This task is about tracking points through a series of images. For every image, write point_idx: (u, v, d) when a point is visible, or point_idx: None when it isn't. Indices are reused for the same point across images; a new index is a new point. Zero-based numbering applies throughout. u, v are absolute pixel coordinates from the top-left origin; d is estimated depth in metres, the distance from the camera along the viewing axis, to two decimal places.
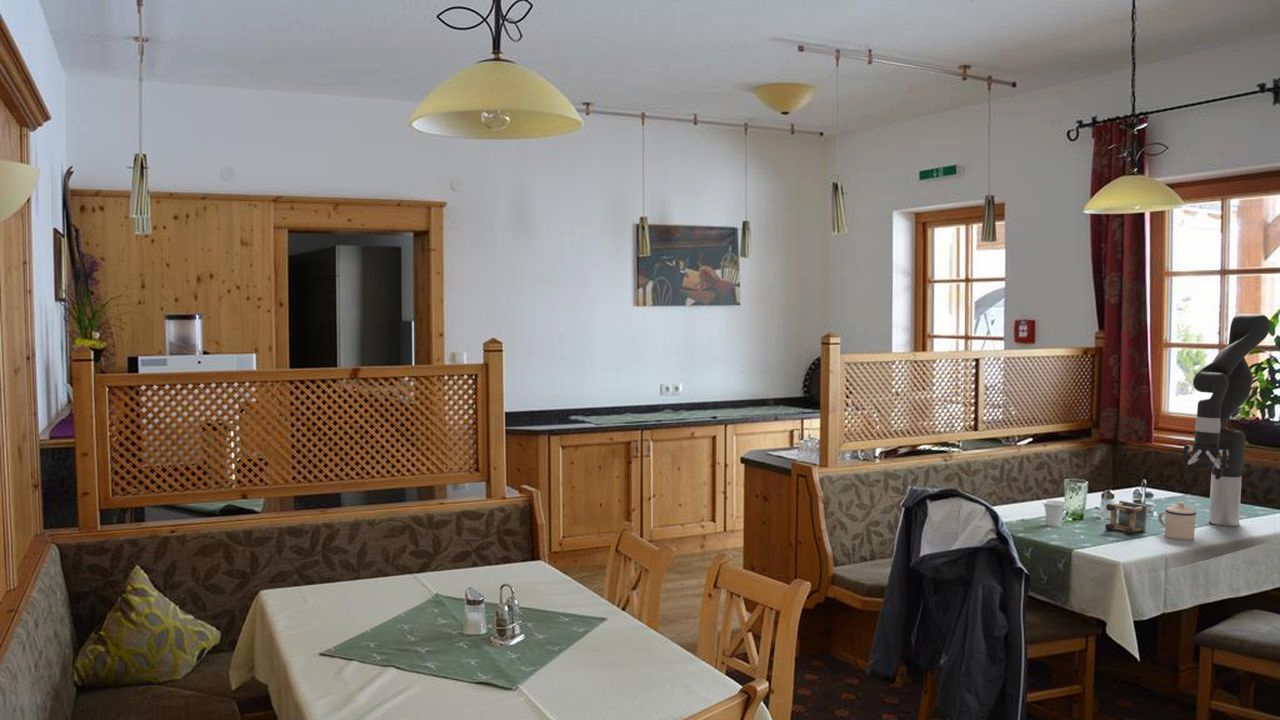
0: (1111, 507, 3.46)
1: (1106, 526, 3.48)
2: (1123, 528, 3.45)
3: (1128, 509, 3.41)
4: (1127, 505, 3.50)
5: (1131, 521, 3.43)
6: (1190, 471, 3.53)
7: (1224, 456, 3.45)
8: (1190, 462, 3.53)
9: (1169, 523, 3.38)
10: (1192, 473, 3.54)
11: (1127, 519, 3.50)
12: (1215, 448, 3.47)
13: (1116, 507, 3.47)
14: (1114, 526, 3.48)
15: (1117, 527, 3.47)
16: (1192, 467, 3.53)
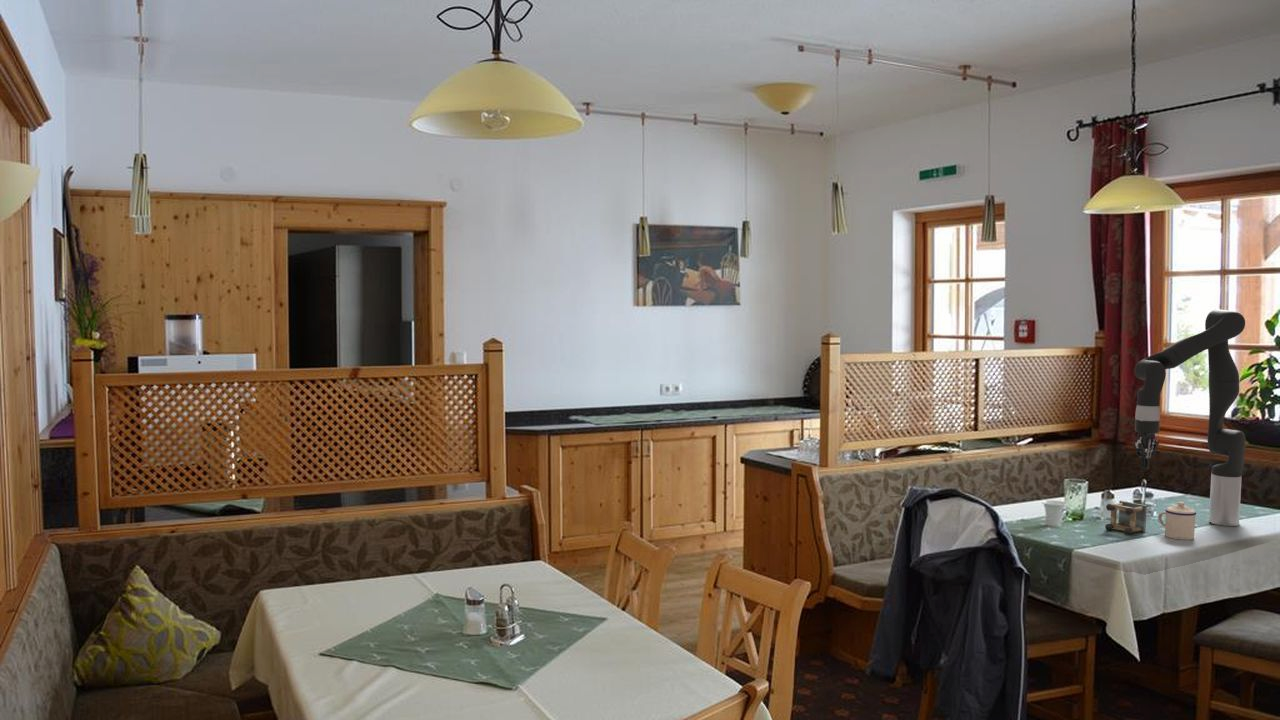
0: (1111, 507, 3.46)
1: (1106, 526, 3.48)
2: (1123, 528, 3.45)
3: (1128, 509, 3.41)
4: (1127, 505, 3.50)
5: (1131, 521, 3.43)
6: (1147, 464, 3.51)
7: (1156, 446, 3.53)
8: (1148, 455, 3.50)
9: (1169, 523, 3.38)
10: None
11: (1127, 519, 3.50)
12: None
13: (1116, 507, 3.47)
14: (1114, 526, 3.48)
15: (1117, 527, 3.47)
16: None
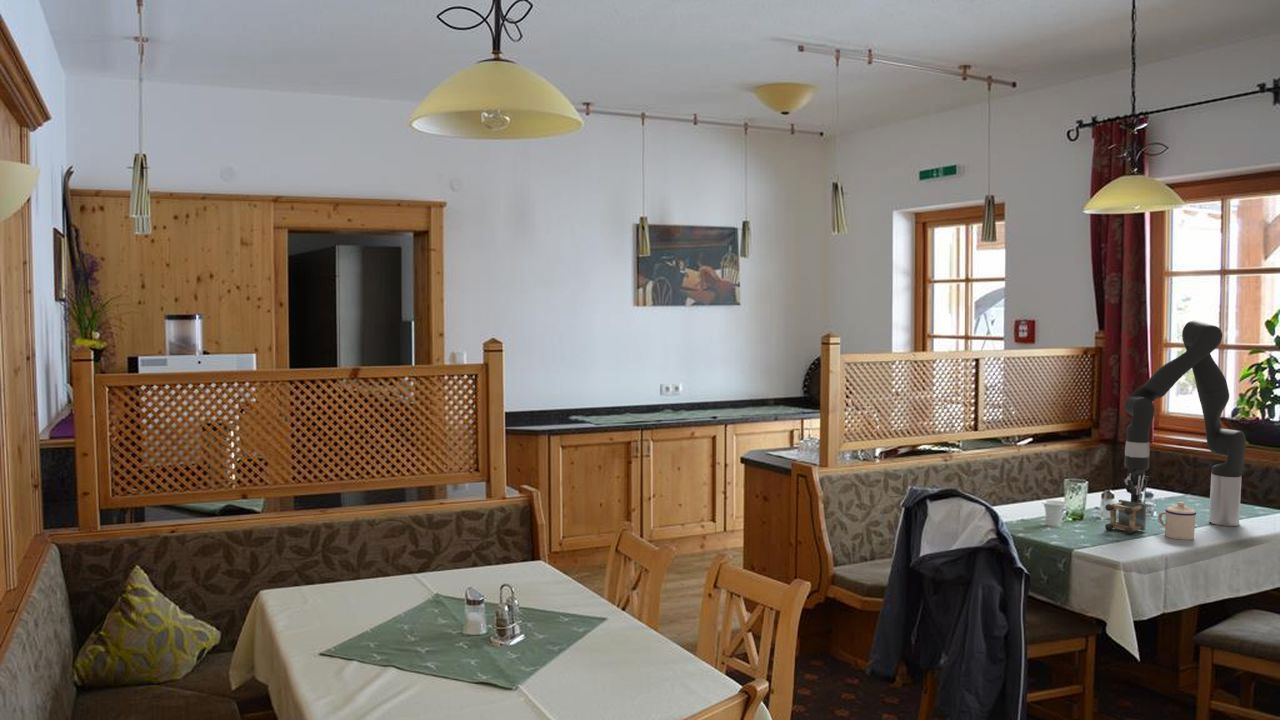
0: (1110, 507, 3.46)
1: (1106, 526, 3.48)
2: (1123, 528, 3.45)
3: (1127, 509, 3.41)
4: (1126, 504, 3.50)
5: (1131, 521, 3.43)
6: (1137, 501, 3.49)
7: (1146, 482, 3.51)
8: (1137, 491, 3.48)
9: (1169, 523, 3.38)
10: None
11: (1127, 518, 3.50)
12: None
13: (1115, 507, 3.47)
14: (1114, 526, 3.48)
15: (1117, 527, 3.47)
16: None
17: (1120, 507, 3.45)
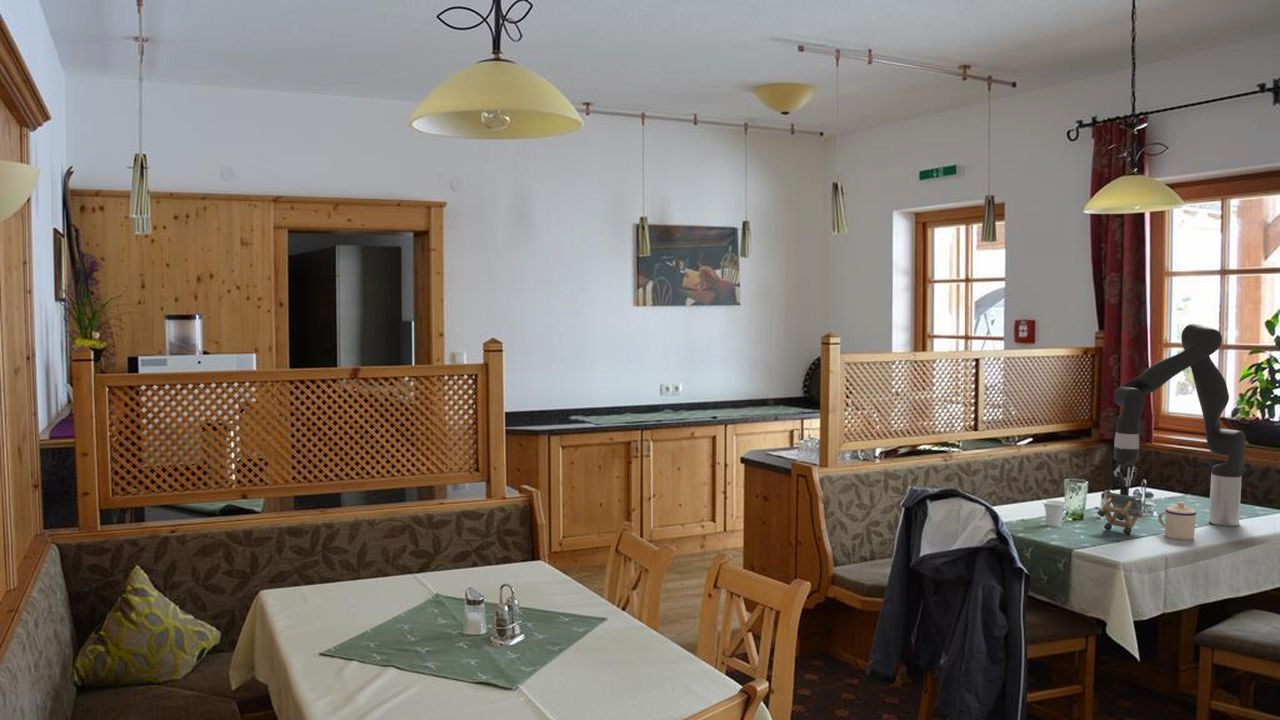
0: (1102, 514, 3.43)
1: (1105, 527, 3.47)
2: (1121, 525, 3.44)
3: (1119, 516, 3.38)
4: (1117, 497, 3.46)
5: (1126, 520, 3.41)
6: (1126, 493, 3.44)
7: (1136, 474, 3.47)
8: (1127, 483, 3.44)
9: (1169, 523, 3.38)
10: None
11: (1122, 507, 3.48)
12: (1134, 463, 3.46)
13: (1107, 510, 3.44)
14: (1112, 523, 3.47)
15: (1115, 524, 3.46)
16: None
17: (1112, 510, 3.43)
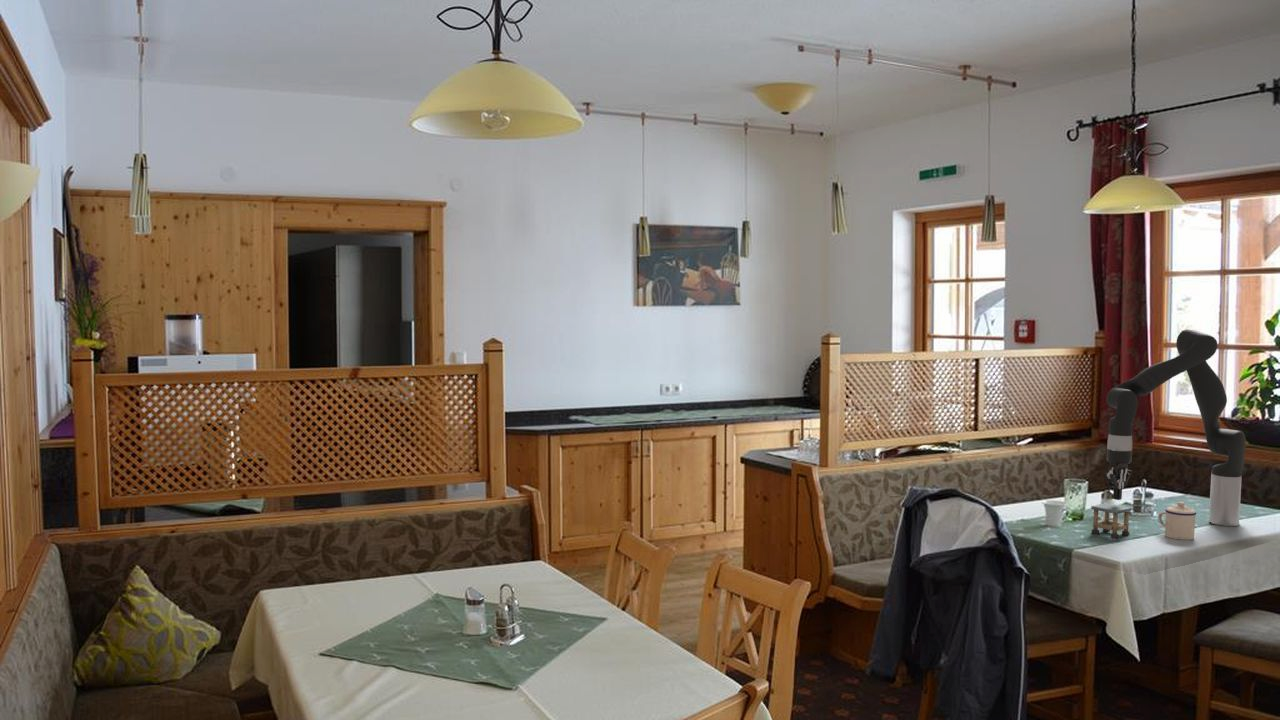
0: (1097, 533, 3.42)
1: None
2: None
3: None
4: None
5: None
6: (1120, 495, 3.42)
7: (1129, 476, 3.44)
8: (1120, 486, 3.41)
9: (1169, 523, 3.38)
10: None
11: None
12: None
13: None
14: (1108, 524, 3.46)
15: None
16: None
17: None
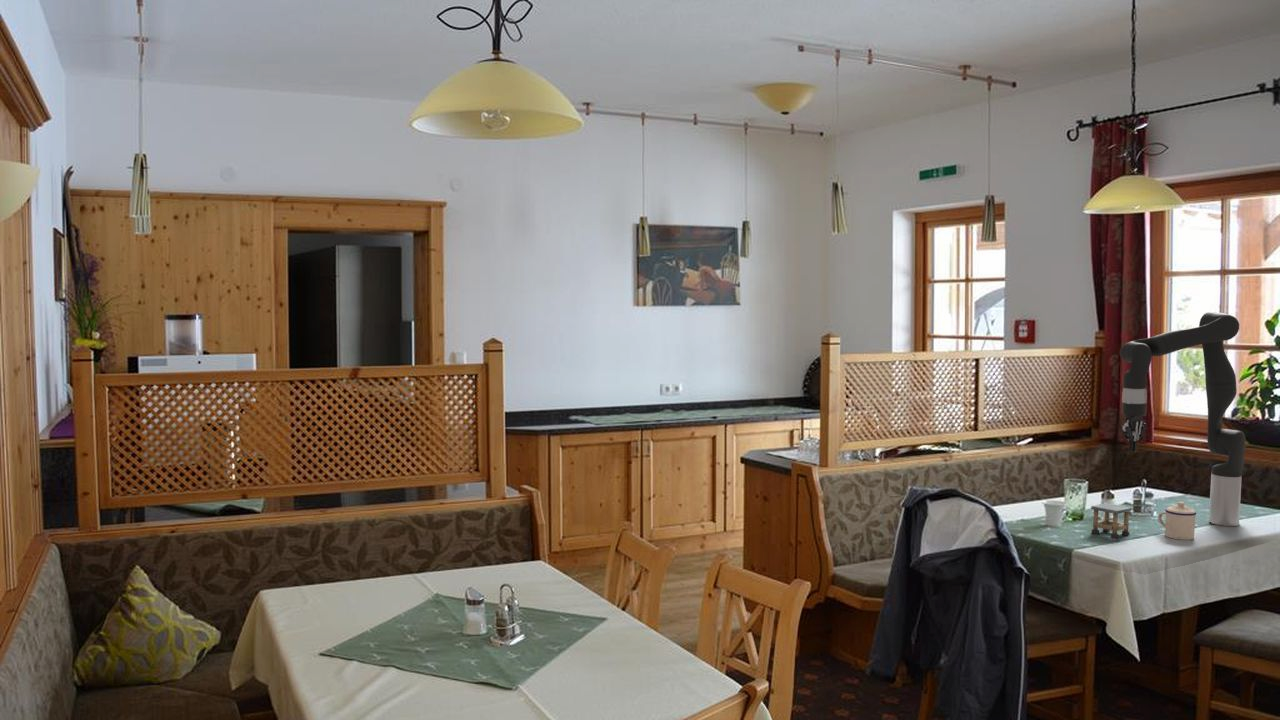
0: (1097, 533, 3.42)
1: None
2: None
3: None
4: None
5: None
6: (1135, 447, 3.48)
7: (1144, 429, 3.50)
8: (1135, 438, 3.47)
9: (1169, 523, 3.38)
10: None
11: None
12: (1142, 418, 3.49)
13: None
14: (1108, 524, 3.46)
15: None
16: None
17: None
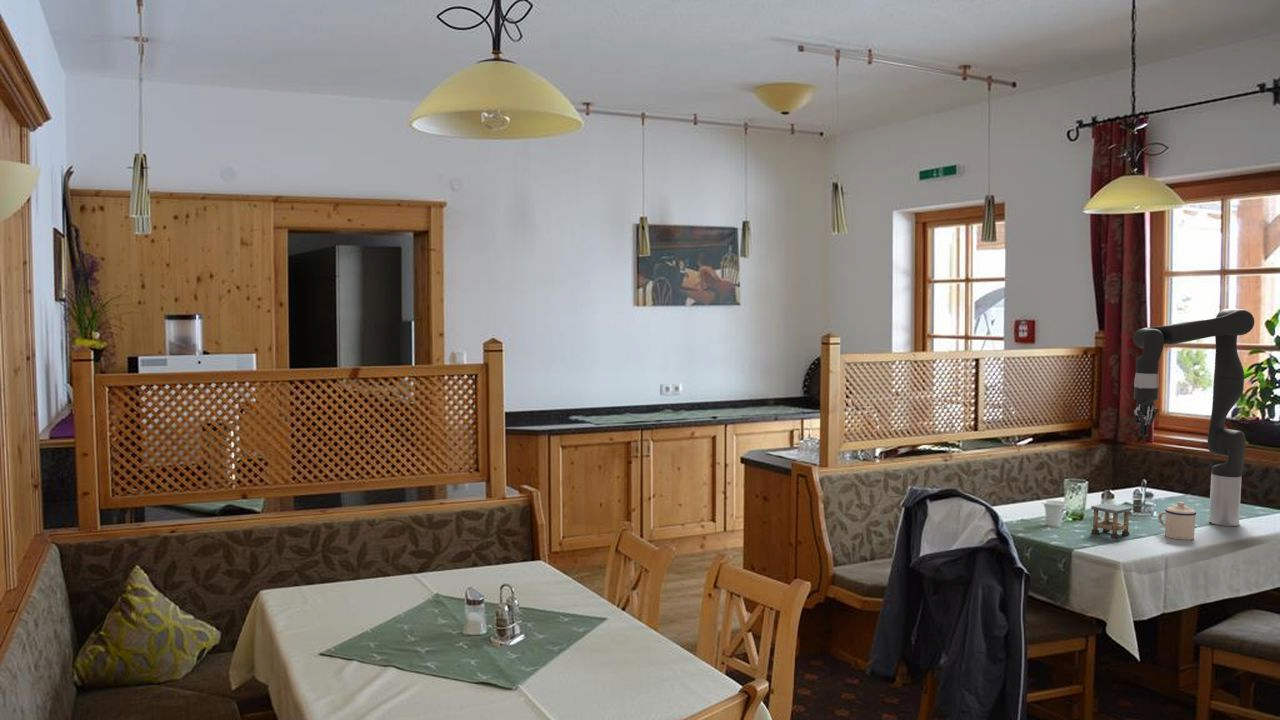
0: (1097, 533, 3.42)
1: None
2: None
3: None
4: None
5: None
6: (1146, 431, 3.55)
7: (1155, 414, 3.57)
8: (1146, 422, 3.54)
9: (1169, 523, 3.38)
10: None
11: None
12: None
13: None
14: (1108, 524, 3.46)
15: None
16: None
17: None
